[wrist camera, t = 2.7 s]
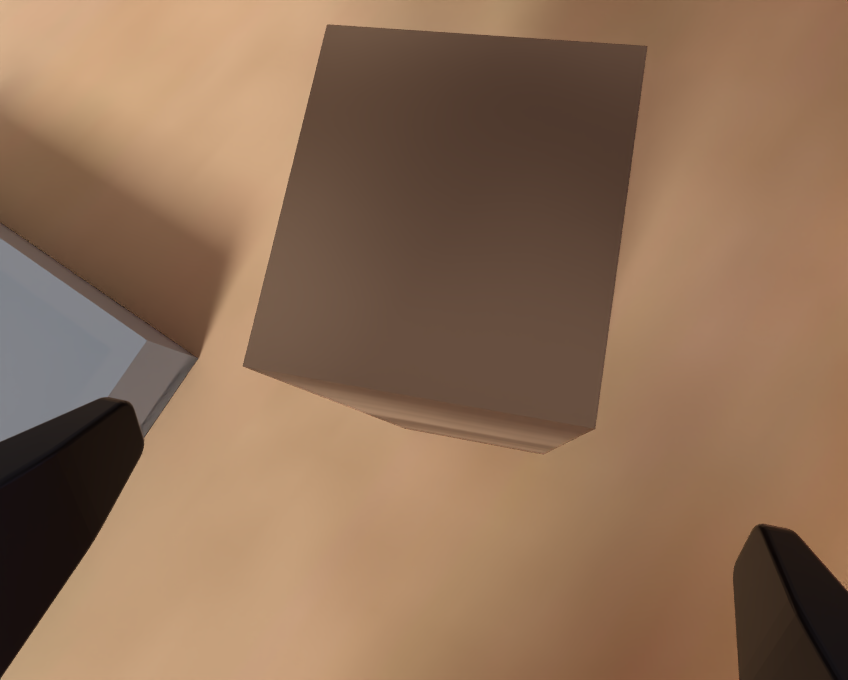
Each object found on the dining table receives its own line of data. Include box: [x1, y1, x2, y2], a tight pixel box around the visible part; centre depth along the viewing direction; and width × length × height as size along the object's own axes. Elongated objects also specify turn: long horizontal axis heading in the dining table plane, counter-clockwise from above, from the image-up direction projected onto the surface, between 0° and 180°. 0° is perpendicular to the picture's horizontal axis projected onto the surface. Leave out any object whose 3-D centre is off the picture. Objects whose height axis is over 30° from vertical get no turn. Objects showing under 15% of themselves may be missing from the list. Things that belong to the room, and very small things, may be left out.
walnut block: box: [243, 25, 647, 454], centre depth 14 cm, size 5×4×12 cm
